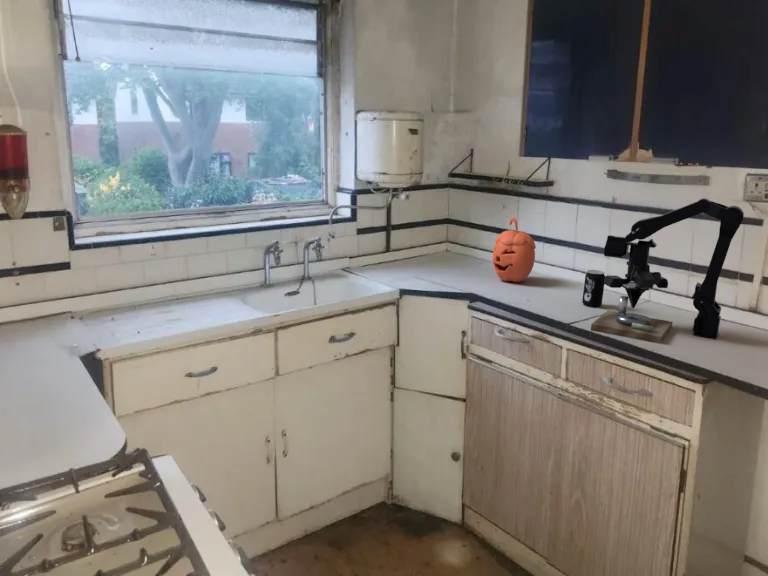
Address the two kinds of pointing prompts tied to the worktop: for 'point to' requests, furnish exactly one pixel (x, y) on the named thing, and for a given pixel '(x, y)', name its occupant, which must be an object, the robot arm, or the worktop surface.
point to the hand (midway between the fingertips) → (632, 307)
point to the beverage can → (593, 288)
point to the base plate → (632, 328)
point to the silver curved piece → (630, 314)
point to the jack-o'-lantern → (513, 254)
